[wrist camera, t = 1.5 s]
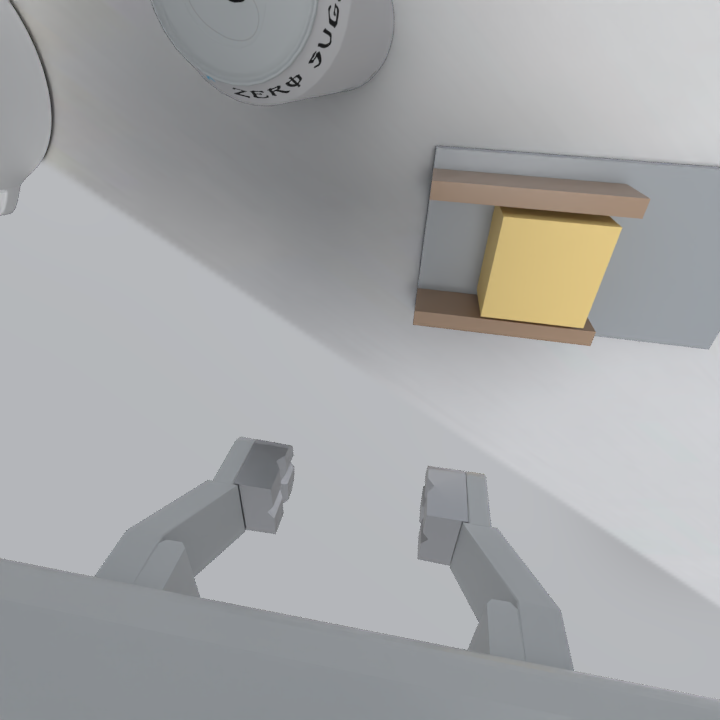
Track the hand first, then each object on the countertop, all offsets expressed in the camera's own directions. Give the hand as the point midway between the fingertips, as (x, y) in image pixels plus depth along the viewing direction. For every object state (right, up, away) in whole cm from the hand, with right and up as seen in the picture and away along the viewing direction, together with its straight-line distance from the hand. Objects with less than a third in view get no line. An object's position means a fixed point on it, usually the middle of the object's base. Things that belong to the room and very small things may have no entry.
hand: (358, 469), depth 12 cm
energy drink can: (-1, +21, +12) cm, 24 cm away
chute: (+14, +10, +16) cm, 24 cm away
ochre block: (+11, +10, +16) cm, 22 cm away
